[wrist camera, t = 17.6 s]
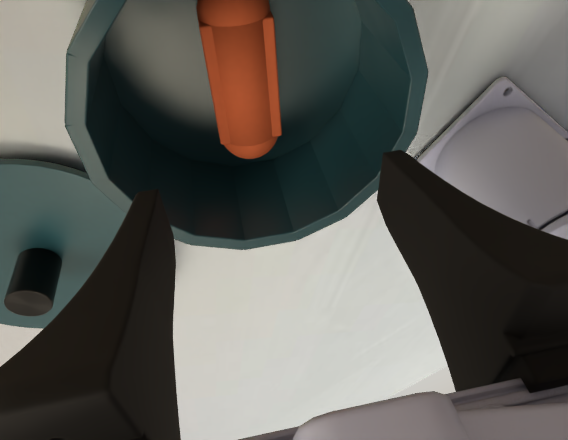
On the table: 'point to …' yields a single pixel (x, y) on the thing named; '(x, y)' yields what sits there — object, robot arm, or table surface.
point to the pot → (203, 126)
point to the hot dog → (242, 73)
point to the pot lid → (48, 238)
